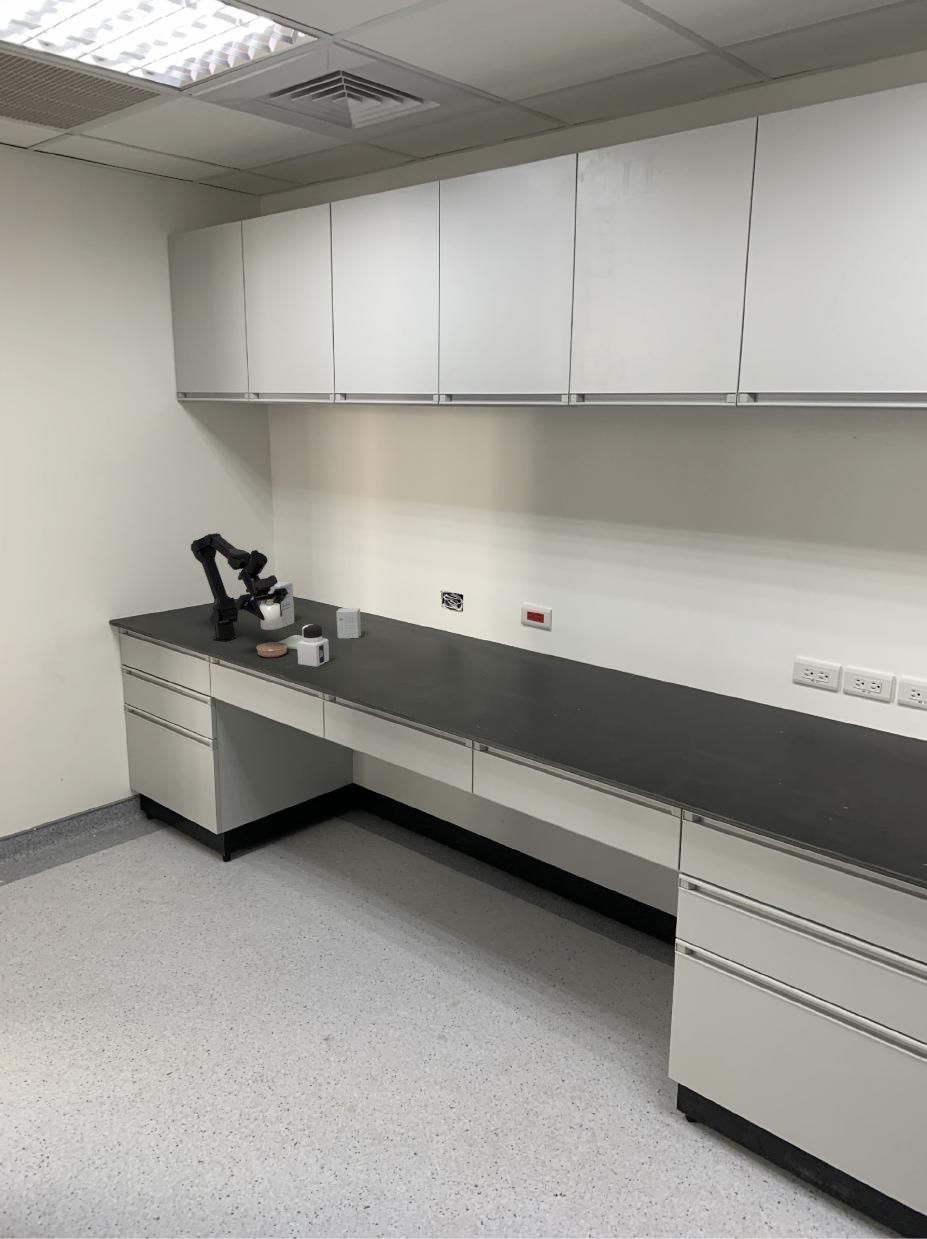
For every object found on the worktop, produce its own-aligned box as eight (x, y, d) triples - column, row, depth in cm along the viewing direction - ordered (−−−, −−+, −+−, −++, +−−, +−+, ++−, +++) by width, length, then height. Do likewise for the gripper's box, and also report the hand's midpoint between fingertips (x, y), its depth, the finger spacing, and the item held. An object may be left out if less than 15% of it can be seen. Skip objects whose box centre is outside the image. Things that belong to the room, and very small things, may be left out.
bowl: (250, 656, 307) (250, 648, 307) (268, 649, 317) (268, 641, 316) (276, 660, 303) (275, 651, 302) (293, 652, 313) (293, 644, 312)
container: (329, 661, 302) (328, 624, 299) (316, 667, 295) (315, 629, 292) (310, 658, 305) (308, 622, 302) (297, 664, 298) (295, 627, 295)
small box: (361, 635, 335) (360, 608, 332) (358, 639, 330) (357, 611, 327) (340, 634, 336) (339, 607, 333) (337, 638, 330) (336, 611, 328)
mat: (273, 646, 320) (273, 644, 320) (294, 636, 333) (294, 634, 333) (305, 650, 315) (305, 648, 315) (326, 640, 327) (326, 638, 327)
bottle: (257, 628, 306) (255, 603, 304) (268, 624, 312) (267, 599, 310) (273, 630, 303) (272, 605, 301) (284, 625, 309) (283, 600, 307)
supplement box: (261, 626, 349) (259, 584, 345) (275, 620, 358) (272, 580, 354) (282, 628, 346) (279, 586, 342) (295, 622, 354) (293, 581, 350)
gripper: (237, 572, 299) (257, 609, 294) (283, 564, 312) (303, 600, 307) (226, 591, 306) (246, 627, 301) (272, 583, 319) (291, 618, 314)
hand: (272, 617), depth 306 cm, fingers closed on bottle, 7 cm apart
